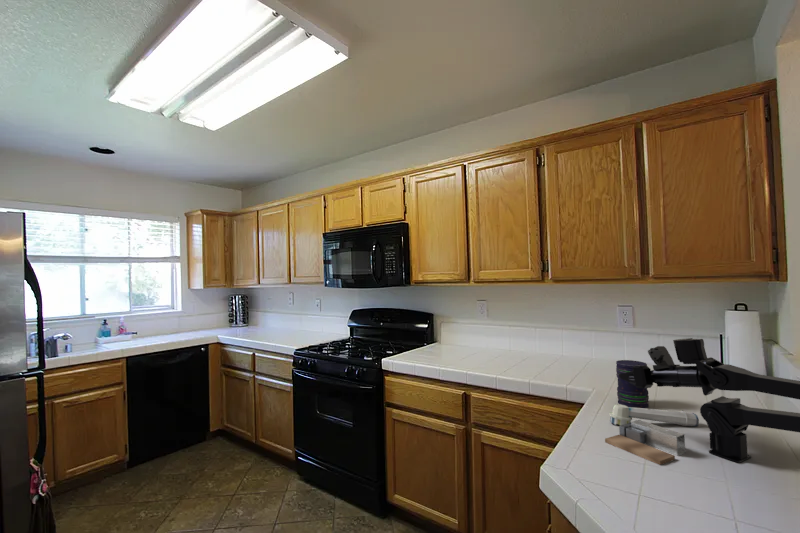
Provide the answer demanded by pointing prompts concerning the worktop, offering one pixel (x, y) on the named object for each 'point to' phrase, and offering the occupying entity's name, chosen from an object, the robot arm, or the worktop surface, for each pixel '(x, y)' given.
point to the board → (640, 449)
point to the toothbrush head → (651, 416)
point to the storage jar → (630, 386)
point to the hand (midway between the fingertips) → (628, 375)
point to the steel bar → (661, 437)
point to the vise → (632, 433)
